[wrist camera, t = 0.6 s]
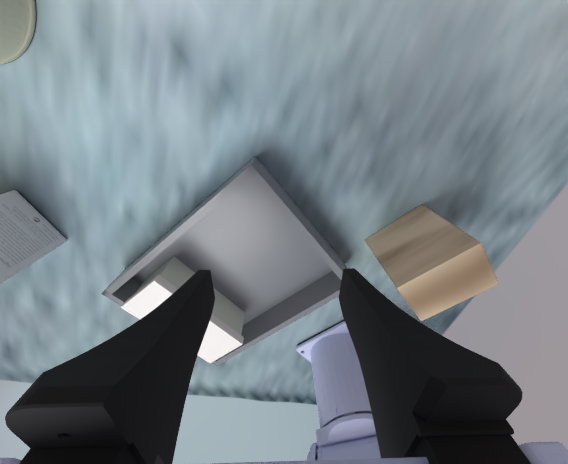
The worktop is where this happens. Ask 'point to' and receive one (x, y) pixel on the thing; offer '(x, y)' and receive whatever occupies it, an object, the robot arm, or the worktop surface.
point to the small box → (23, 235)
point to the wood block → (431, 261)
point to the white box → (224, 317)
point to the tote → (248, 255)
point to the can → (15, 28)
